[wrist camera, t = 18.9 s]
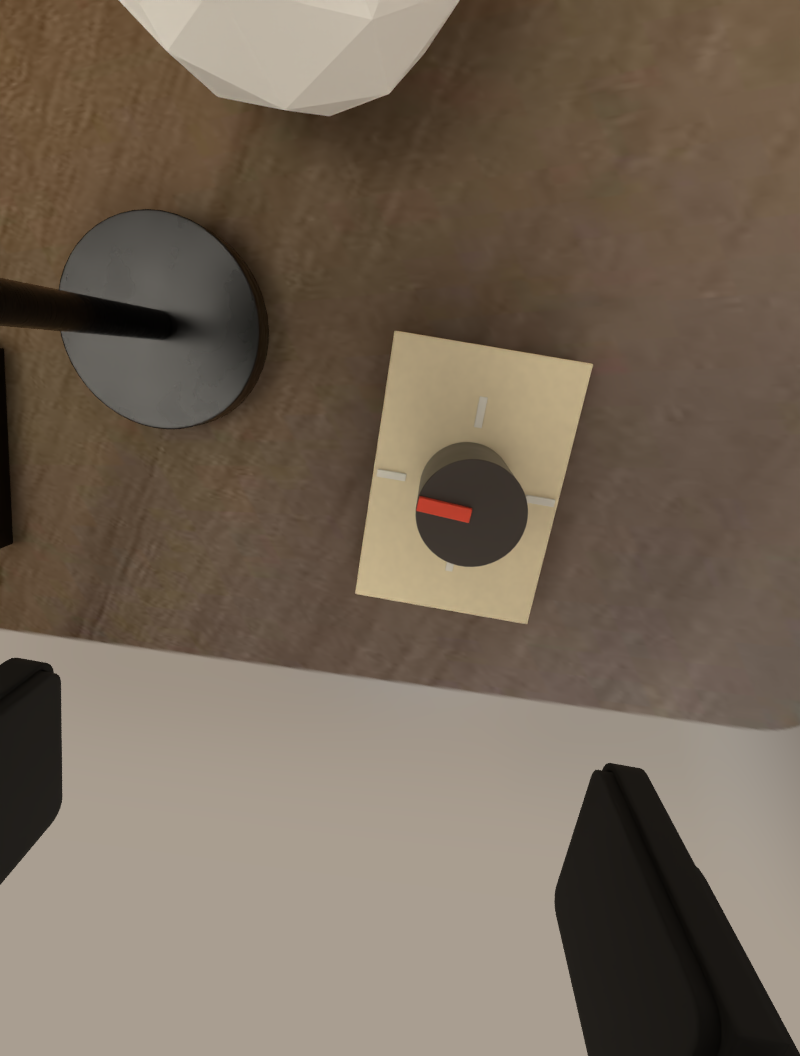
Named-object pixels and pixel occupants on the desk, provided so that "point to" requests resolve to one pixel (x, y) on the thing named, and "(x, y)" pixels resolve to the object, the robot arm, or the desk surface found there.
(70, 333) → the desk lamp
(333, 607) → the desk surface
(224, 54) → the geodesic sphere
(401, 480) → the dimmer panel
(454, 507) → the dimmer knob
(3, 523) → the button base
